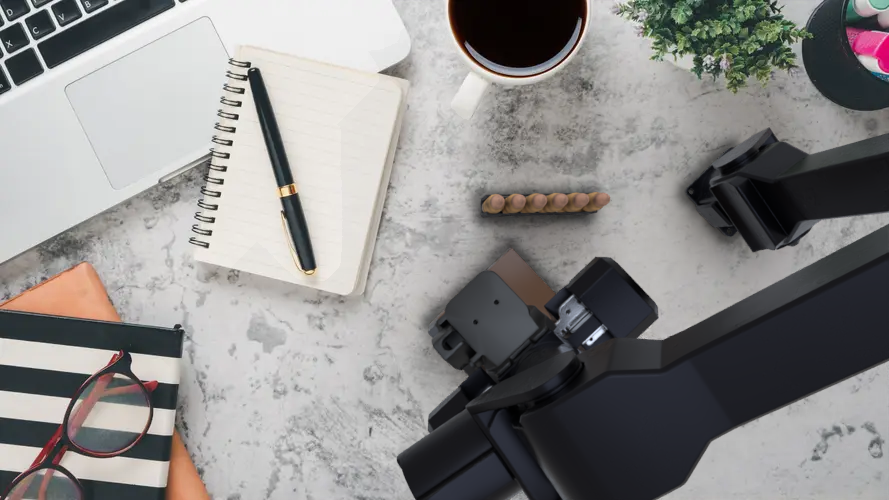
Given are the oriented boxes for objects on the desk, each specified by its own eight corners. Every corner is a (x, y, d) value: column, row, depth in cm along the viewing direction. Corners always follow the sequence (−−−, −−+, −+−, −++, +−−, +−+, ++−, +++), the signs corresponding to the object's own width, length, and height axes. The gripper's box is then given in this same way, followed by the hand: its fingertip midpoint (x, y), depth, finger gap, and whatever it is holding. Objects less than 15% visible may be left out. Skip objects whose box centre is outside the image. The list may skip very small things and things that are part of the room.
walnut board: (509, 247, 65) (516, 248, 59) (606, 349, 65) (623, 361, 59) (429, 323, 65) (427, 332, 59) (526, 424, 65) (534, 444, 59)
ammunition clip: (588, 196, 65) (619, 186, 53) (588, 214, 65) (619, 209, 53) (480, 198, 65) (487, 188, 53) (481, 216, 65) (488, 211, 53)
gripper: (576, 197, 42) (542, 208, 57) (364, 398, 42) (388, 355, 58) (696, 324, 42) (630, 301, 57) (484, 524, 42) (475, 446, 58)
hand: (528, 348), depth 57 cm, fingers closed on milkshake, 5 cm apart
